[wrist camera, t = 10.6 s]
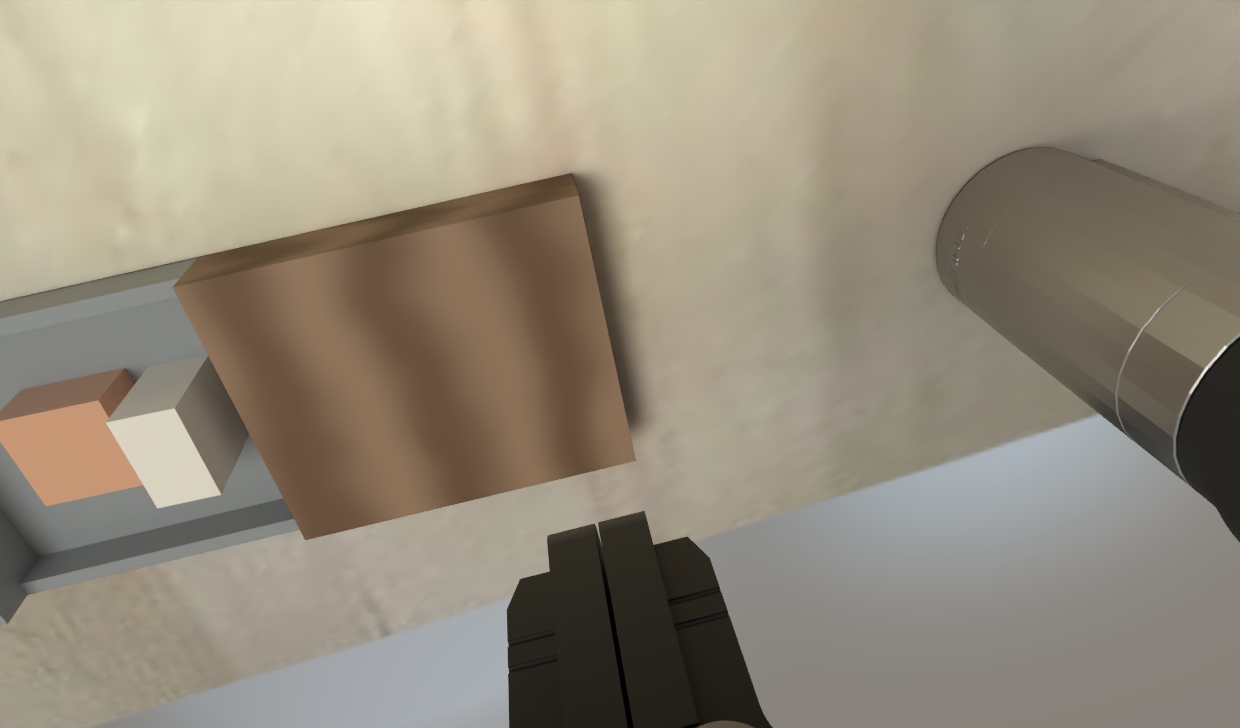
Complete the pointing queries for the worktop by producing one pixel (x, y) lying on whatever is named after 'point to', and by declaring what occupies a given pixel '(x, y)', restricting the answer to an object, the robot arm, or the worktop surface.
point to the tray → (126, 519)
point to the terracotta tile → (69, 437)
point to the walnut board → (417, 355)
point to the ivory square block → (180, 431)
